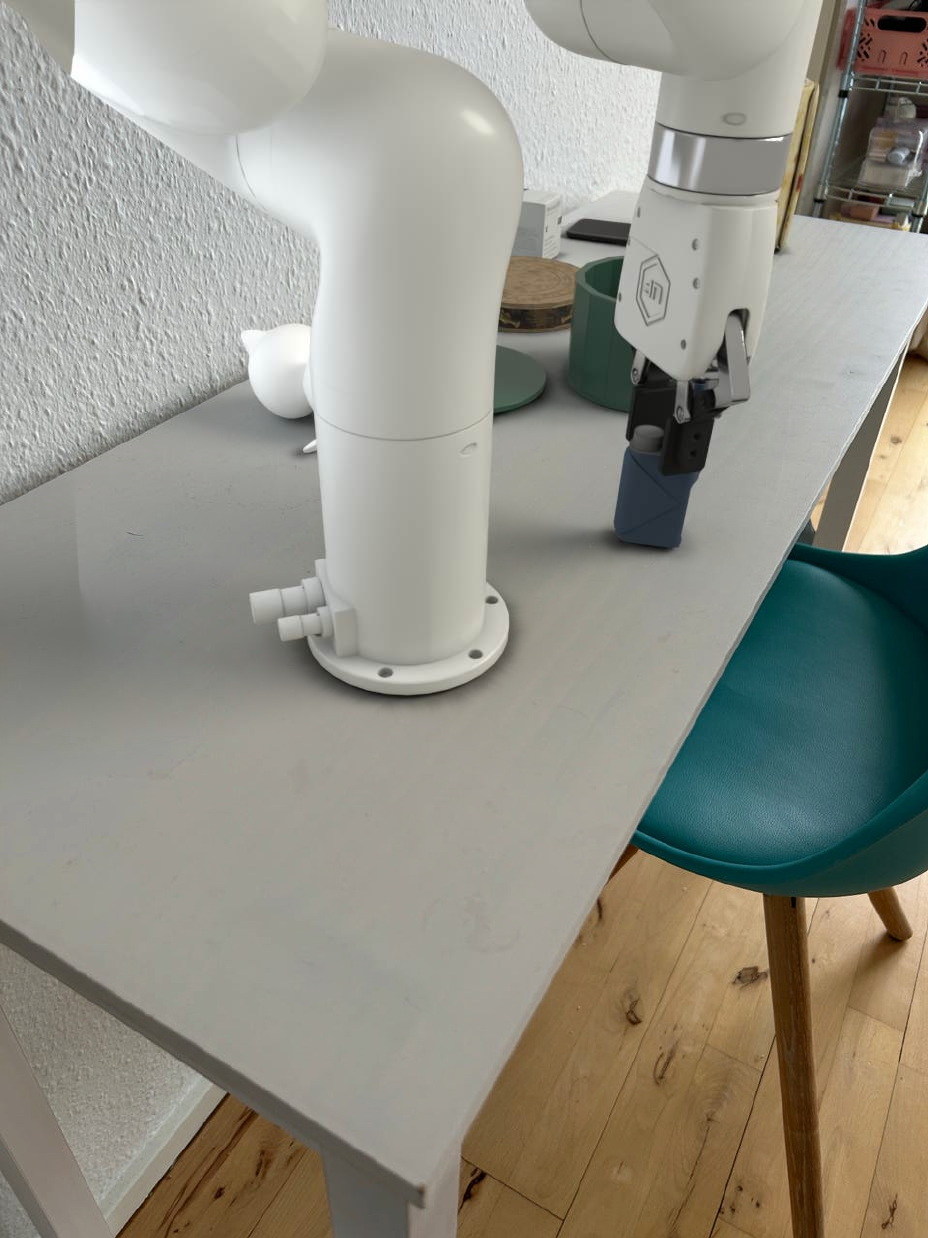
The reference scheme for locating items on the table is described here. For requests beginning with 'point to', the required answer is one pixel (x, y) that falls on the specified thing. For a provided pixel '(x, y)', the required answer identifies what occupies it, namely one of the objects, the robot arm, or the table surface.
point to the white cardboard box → (539, 224)
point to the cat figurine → (281, 370)
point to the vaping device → (651, 491)
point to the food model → (796, 162)
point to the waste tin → (599, 338)
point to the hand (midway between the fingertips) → (663, 452)
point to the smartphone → (600, 230)
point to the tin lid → (515, 379)
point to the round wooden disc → (537, 295)
